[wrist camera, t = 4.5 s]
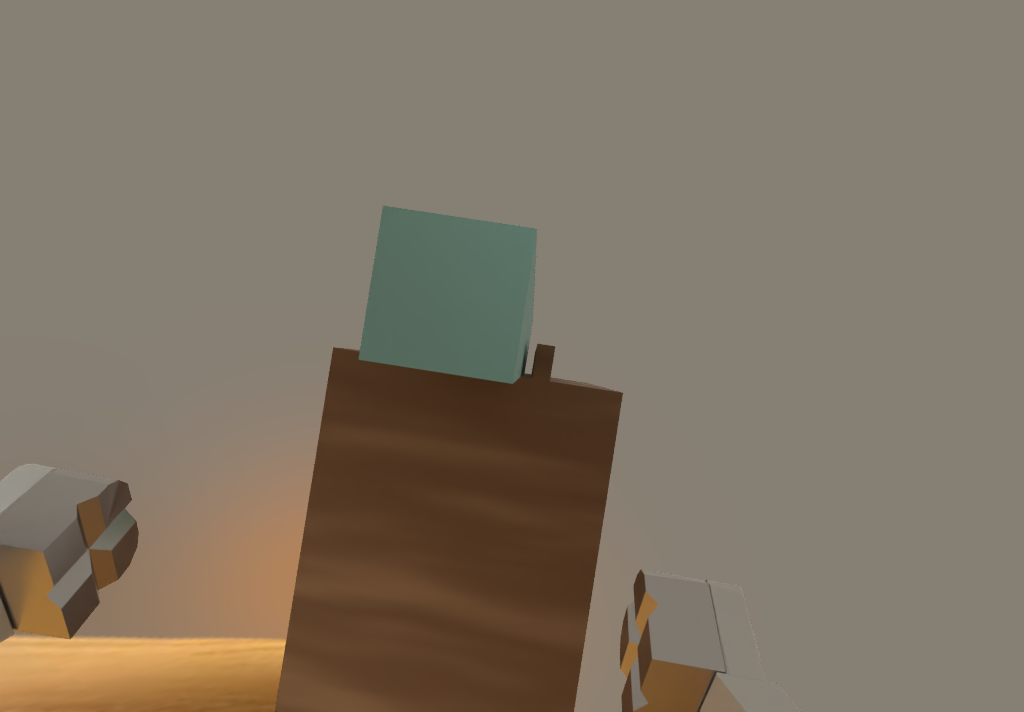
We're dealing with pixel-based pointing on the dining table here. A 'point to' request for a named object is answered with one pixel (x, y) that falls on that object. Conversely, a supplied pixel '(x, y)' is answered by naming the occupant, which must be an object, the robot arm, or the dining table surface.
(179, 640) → the dining table surface
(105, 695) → the dining table surface
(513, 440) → the walnut stand
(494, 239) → the teal rod
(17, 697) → the dining table surface
